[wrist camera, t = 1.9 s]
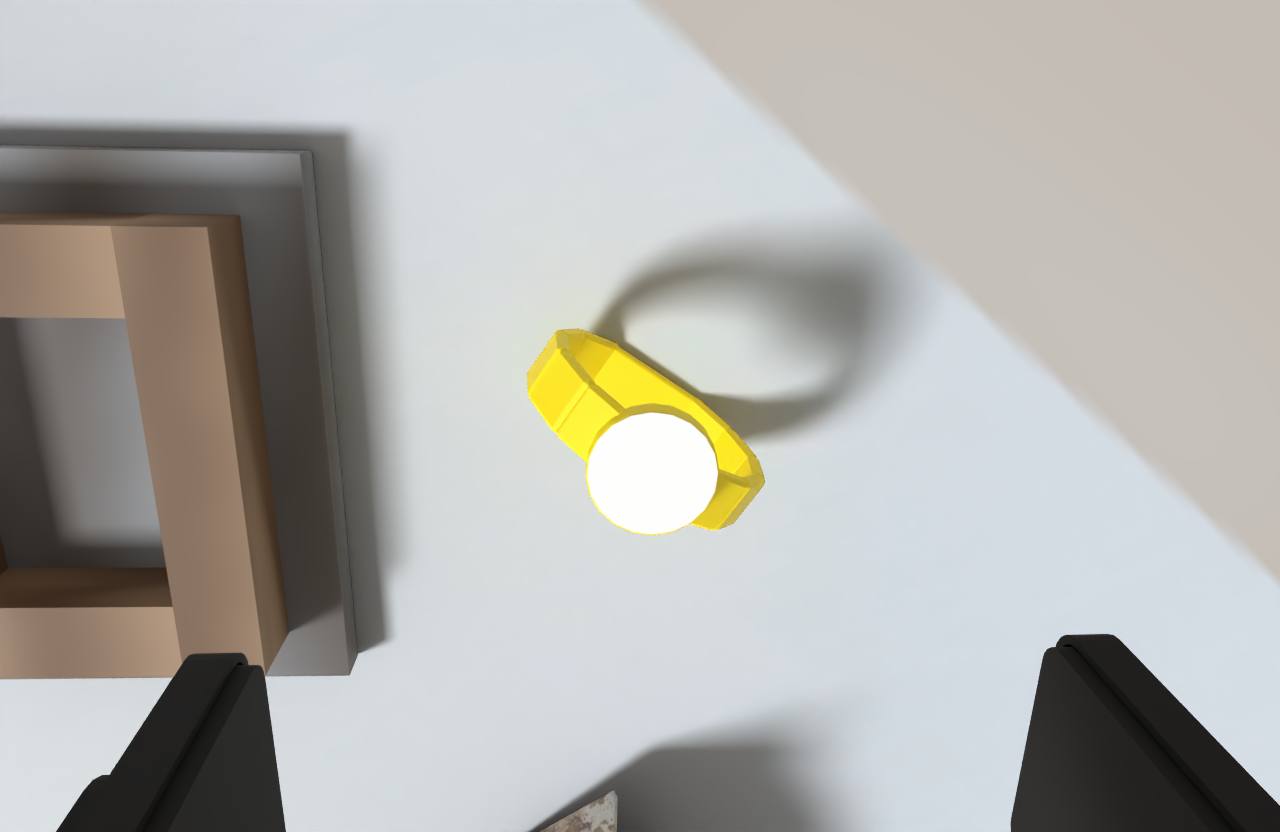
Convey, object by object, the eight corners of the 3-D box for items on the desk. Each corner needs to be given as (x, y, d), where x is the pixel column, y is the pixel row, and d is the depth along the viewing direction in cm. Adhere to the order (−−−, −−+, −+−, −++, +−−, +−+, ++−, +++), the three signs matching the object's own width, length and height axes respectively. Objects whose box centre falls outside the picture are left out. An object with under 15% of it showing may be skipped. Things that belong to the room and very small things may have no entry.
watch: (523, 371, 25) (486, 444, 19) (582, 286, 24) (560, 335, 19) (706, 493, 26) (722, 597, 20) (768, 414, 25) (802, 498, 20)
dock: (311, 150, 23) (271, 160, 20) (357, 654, 27) (330, 721, 24) (-215, 140, 22) (-335, 149, 19) (-76, 659, 27) (-155, 727, 24)
